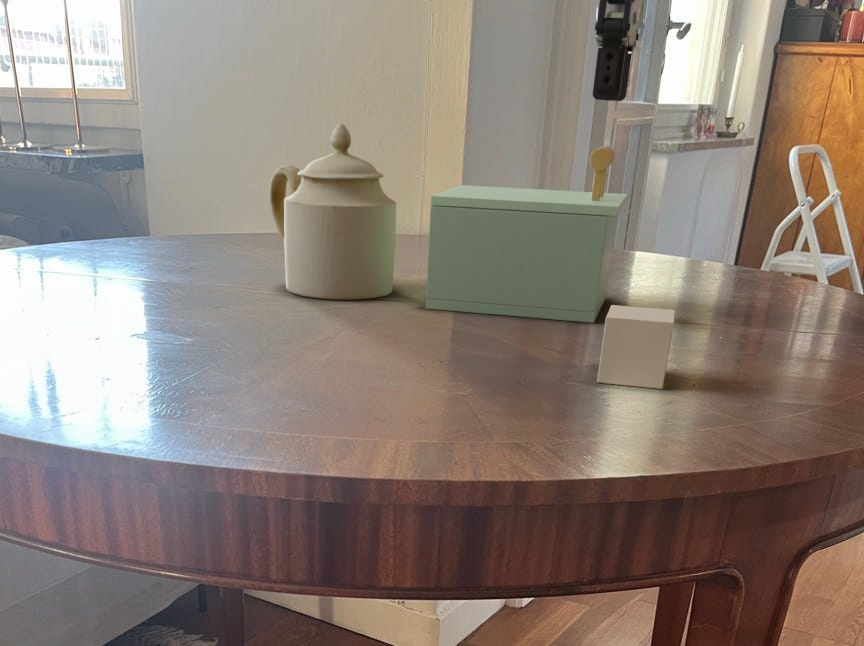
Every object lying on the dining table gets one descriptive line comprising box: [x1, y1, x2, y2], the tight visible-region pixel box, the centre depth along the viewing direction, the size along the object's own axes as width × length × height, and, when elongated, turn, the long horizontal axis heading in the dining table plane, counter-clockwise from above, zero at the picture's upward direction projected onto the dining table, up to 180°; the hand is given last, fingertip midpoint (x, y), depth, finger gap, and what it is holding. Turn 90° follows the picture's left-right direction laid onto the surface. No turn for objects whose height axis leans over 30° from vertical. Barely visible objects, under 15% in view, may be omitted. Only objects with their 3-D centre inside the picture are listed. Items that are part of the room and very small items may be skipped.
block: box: [596, 304, 676, 390], centre depth 69 cm, size 5×5×5 cm
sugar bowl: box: [269, 122, 397, 301], centre depth 94 cm, size 15×11×15 cm
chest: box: [425, 205, 618, 324], centre depth 91 cm, size 16×13×9 cm
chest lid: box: [430, 145, 629, 217], centre depth 88 cm, size 17×13×5 cm
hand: (609, 100), depth 83 cm, fingers open, 8 cm apart
